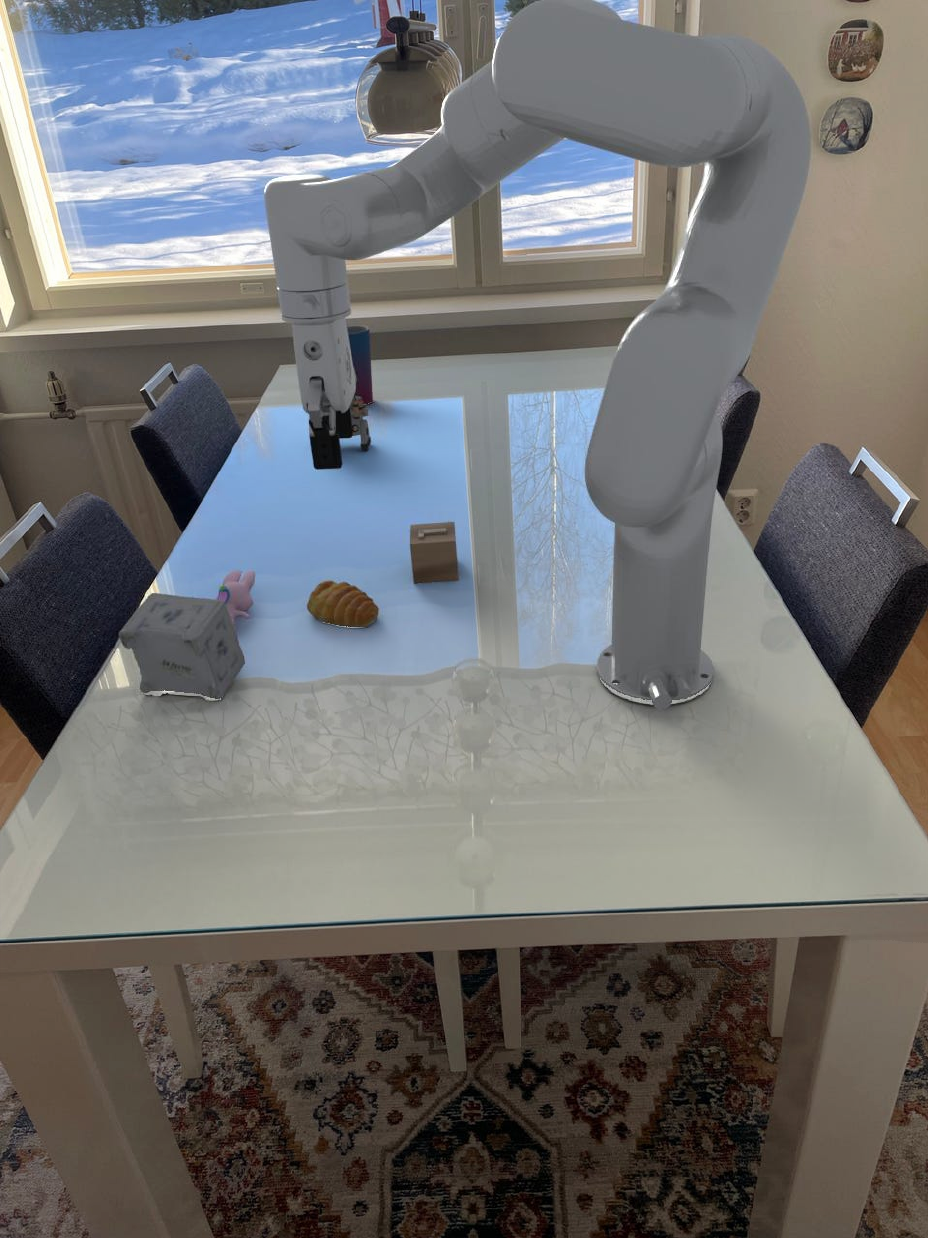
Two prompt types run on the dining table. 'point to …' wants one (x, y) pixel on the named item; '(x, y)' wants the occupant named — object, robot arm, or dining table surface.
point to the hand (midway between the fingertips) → (334, 452)
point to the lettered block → (433, 552)
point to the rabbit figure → (237, 594)
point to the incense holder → (184, 645)
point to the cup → (361, 361)
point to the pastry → (342, 605)
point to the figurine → (359, 420)
